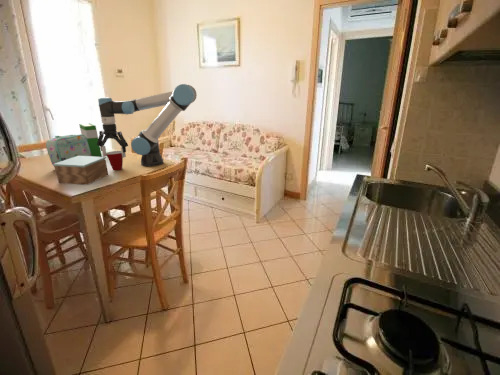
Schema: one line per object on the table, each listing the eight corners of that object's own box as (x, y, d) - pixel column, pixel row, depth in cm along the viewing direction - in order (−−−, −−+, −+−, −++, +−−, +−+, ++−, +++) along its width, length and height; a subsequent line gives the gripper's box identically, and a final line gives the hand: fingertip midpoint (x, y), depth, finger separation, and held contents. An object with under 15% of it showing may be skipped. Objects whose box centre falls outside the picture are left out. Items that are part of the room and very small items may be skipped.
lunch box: (63, 171, 167) (54, 138, 160) (50, 170, 169) (41, 137, 162) (94, 160, 192) (88, 131, 184) (82, 160, 194) (75, 131, 186)
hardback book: (85, 153, 212) (79, 124, 203) (95, 152, 217) (89, 123, 208) (91, 157, 200) (84, 126, 191) (101, 156, 205) (95, 125, 196)
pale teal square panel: (106, 158, 157) (105, 156, 157) (83, 167, 140) (83, 165, 140) (78, 157, 160) (78, 155, 159) (53, 165, 143) (52, 164, 142)
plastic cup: (121, 166, 179) (118, 149, 175) (129, 169, 173) (126, 151, 169) (105, 169, 171) (101, 151, 167) (112, 172, 165) (109, 154, 161)
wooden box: (108, 174, 161) (105, 159, 157) (87, 184, 144) (83, 167, 140) (82, 173, 163) (78, 158, 160) (58, 182, 146) (54, 165, 143)
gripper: (86, 123, 160) (93, 156, 167) (123, 125, 156) (128, 159, 164) (95, 122, 167) (101, 154, 174) (130, 123, 163) (135, 156, 171)
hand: (114, 156), depth 169 cm, fingers open, 13 cm apart
